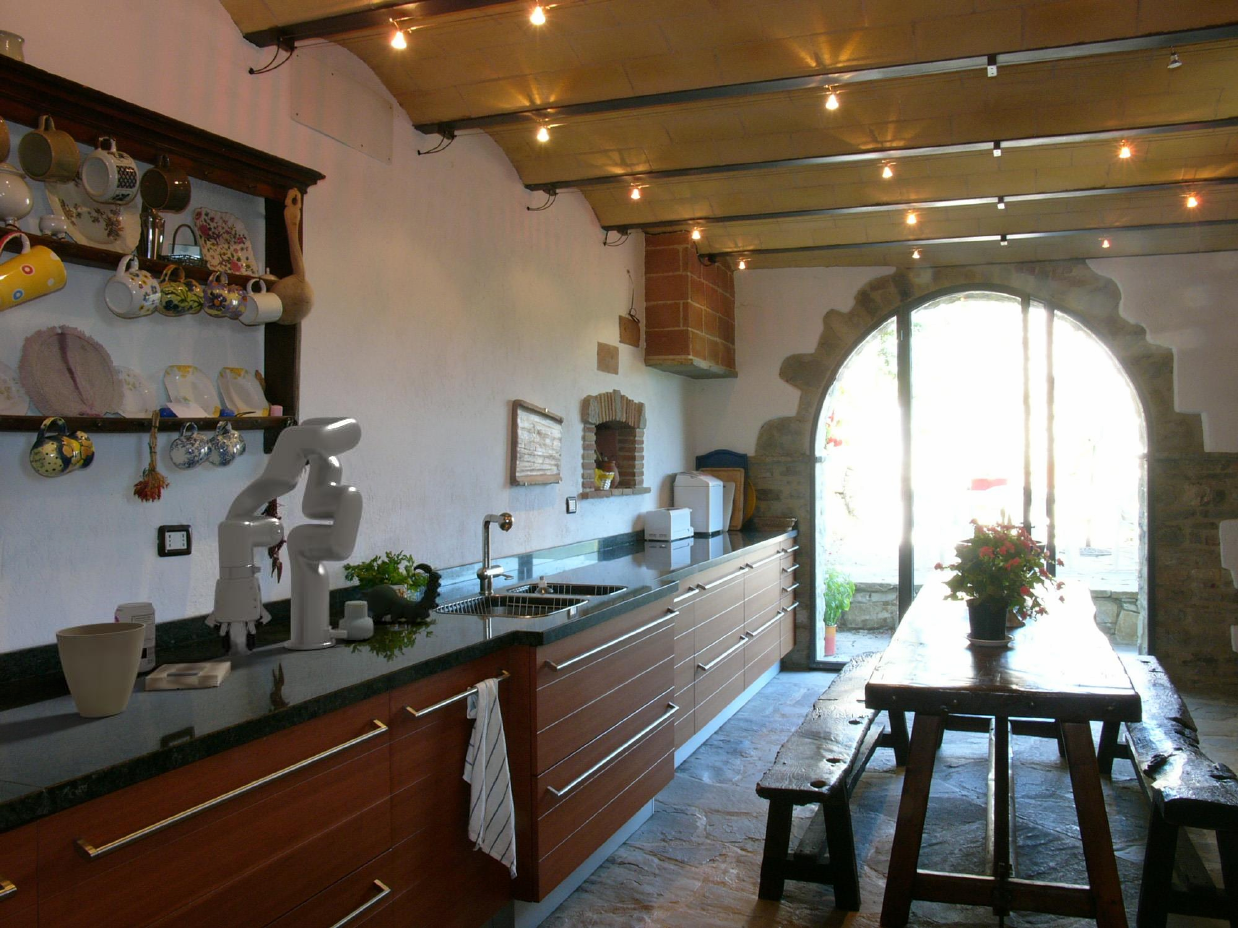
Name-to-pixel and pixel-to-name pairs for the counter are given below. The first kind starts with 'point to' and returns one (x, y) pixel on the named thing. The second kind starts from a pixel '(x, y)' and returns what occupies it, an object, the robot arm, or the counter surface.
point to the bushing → (238, 639)
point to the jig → (188, 675)
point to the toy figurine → (404, 600)
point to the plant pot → (101, 664)
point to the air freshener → (356, 621)
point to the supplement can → (145, 615)
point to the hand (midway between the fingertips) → (239, 649)
